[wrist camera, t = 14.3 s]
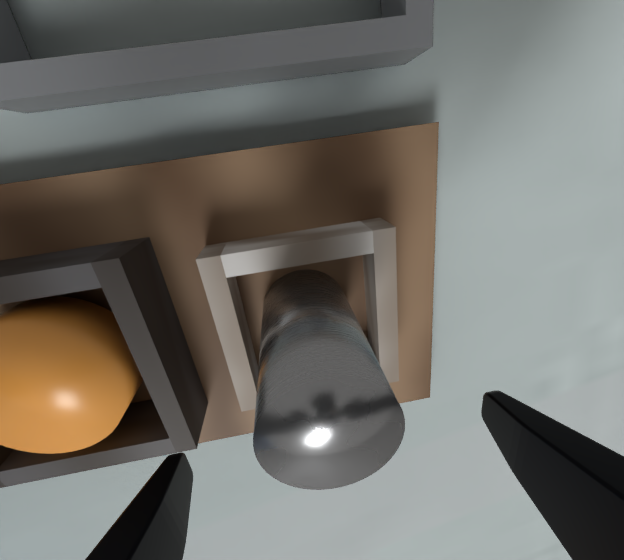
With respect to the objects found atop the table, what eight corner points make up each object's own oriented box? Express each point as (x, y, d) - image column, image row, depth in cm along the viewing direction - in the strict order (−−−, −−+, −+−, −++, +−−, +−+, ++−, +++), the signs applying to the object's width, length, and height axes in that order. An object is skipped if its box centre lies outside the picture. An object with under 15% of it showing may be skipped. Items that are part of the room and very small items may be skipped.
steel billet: (271, 349, 17) (269, 501, 10) (255, 277, 15) (237, 394, 8) (349, 335, 17) (405, 473, 10) (342, 262, 15) (404, 363, 8)
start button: (35, 420, 16) (-5, 466, 14) (-40, 310, 13) (-105, 343, 11) (164, 396, 16) (147, 437, 14) (116, 284, 14) (85, 311, 11)
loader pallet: (58, 455, 19) (6, 530, 16) (-115, 201, 13) (-276, 221, 9) (421, 384, 21) (455, 436, 17) (426, 124, 14) (481, 114, 11)
